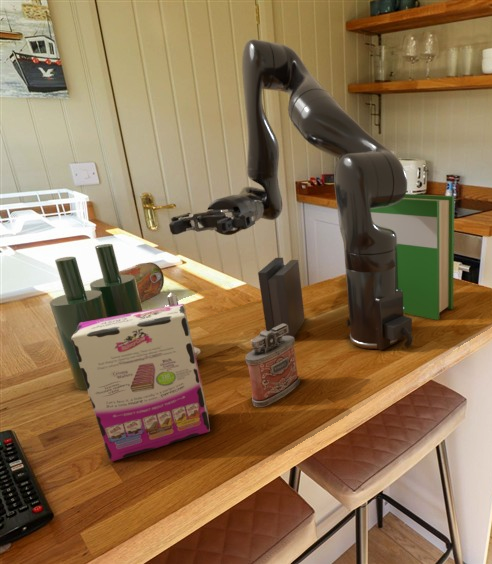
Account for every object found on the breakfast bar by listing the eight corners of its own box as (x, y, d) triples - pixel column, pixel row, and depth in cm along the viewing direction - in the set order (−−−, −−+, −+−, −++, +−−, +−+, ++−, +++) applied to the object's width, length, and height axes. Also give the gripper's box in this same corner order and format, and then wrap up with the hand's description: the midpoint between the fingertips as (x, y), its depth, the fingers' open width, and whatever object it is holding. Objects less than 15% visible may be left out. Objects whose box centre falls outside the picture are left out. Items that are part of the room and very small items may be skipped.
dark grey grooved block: (304, 319, 88) (297, 257, 84) (291, 341, 79) (283, 272, 74) (283, 320, 88) (275, 257, 84) (267, 341, 79) (257, 272, 74)
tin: (120, 312, 95) (111, 276, 92) (108, 311, 96) (99, 276, 93) (167, 290, 109) (161, 258, 106) (157, 289, 110) (150, 258, 107)
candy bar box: (208, 412, 58) (185, 301, 53) (211, 433, 54) (186, 315, 49) (112, 439, 54) (77, 320, 48) (108, 464, 49) (68, 336, 44)
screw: (198, 355, 74) (205, 366, 71) (168, 364, 72) (173, 375, 68) (184, 285, 70) (190, 293, 67) (151, 292, 67) (156, 300, 64)
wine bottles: (124, 346, 78) (97, 241, 72) (159, 346, 78) (135, 240, 72) (63, 390, 65) (22, 265, 58) (105, 390, 65) (69, 264, 58)
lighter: (263, 409, 59) (253, 345, 55) (247, 402, 60) (236, 339, 57) (304, 382, 65) (297, 322, 62) (289, 376, 67) (281, 318, 63)
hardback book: (453, 307, 92) (454, 196, 84) (437, 320, 86) (437, 201, 78) (385, 294, 101) (381, 192, 93) (367, 304, 95) (361, 197, 87)
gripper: (197, 197, 89) (152, 208, 74) (264, 194, 89) (232, 205, 73) (204, 232, 92) (161, 249, 76) (268, 230, 91) (238, 247, 76)
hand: (196, 228), depth 75 cm, fingers open, 8 cm apart
